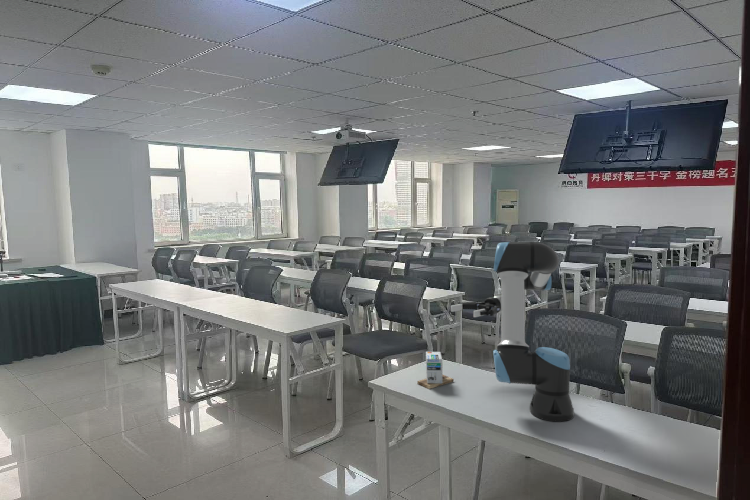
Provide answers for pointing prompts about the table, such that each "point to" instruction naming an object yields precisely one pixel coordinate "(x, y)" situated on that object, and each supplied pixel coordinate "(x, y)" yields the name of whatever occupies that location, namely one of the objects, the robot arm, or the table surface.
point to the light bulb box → (434, 367)
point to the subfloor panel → (431, 385)
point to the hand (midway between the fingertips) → (462, 311)
